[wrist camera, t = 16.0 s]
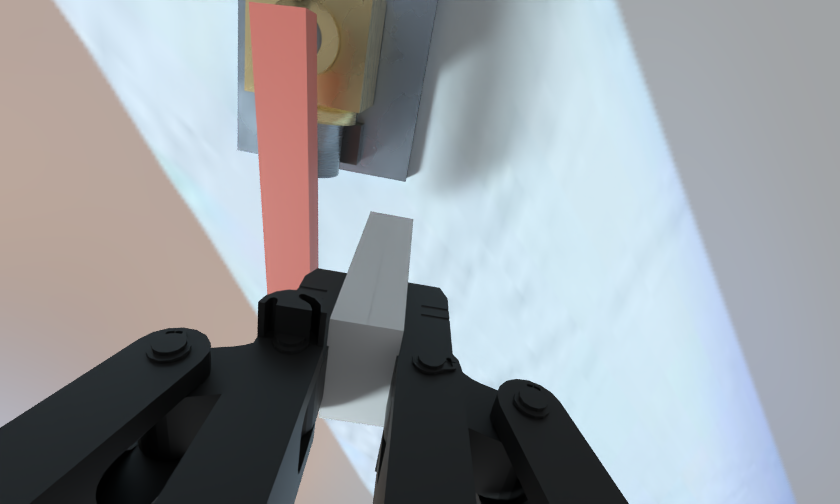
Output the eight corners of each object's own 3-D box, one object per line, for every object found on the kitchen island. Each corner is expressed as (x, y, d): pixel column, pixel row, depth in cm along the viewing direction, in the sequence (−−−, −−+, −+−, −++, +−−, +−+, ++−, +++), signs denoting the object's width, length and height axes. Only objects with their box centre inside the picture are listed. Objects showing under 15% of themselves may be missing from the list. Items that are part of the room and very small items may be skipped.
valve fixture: (246, -122, 27) (160, -216, 18) (450, -75, 28) (461, -143, 19) (243, 147, 34) (180, 172, 25) (406, 178, 35) (399, 212, 26)
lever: (274, 8, 21) (248, -4, 18) (323, 13, 22) (305, 2, 18) (286, 289, 28) (269, 317, 25) (323, 293, 28) (310, 320, 25)
